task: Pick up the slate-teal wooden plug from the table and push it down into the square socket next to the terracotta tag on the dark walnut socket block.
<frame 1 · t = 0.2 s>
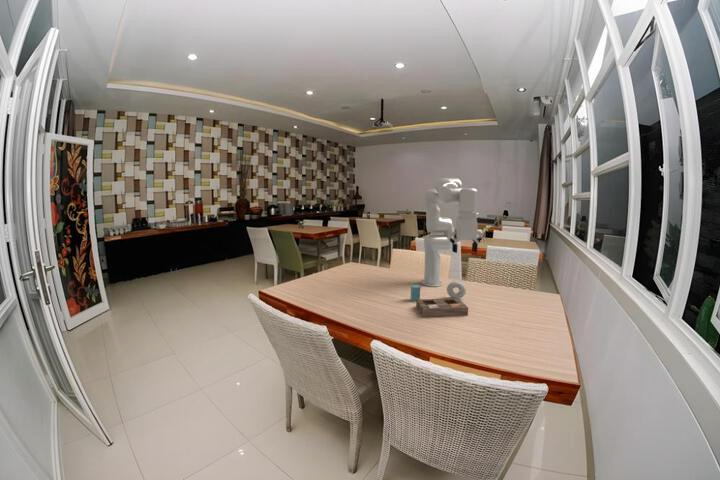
hand: (464, 251, 134), 31 cm above the table, tool pointing down, fingers open, 9 cm apart
plug: (415, 300, 156), on the table
donut: (455, 299, 158), on the table
socket block: (441, 310, 142), on the table
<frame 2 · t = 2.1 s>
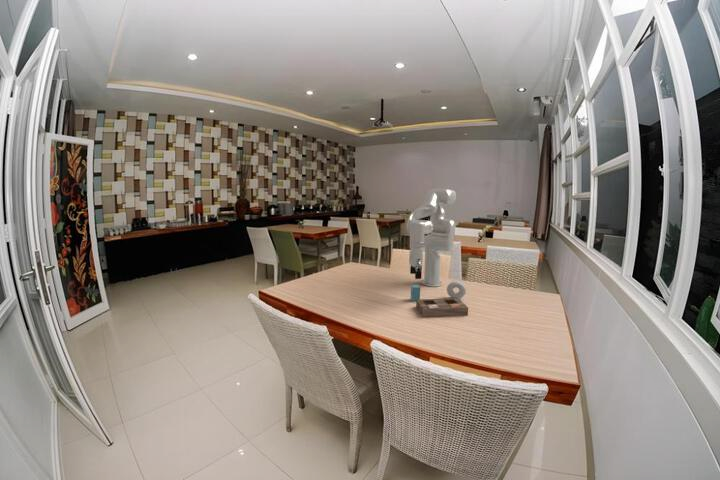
hand: (415, 276, 153), 14 cm above the table, tool pointing down, fingers open, 9 cm apart
nothing on the table moved.
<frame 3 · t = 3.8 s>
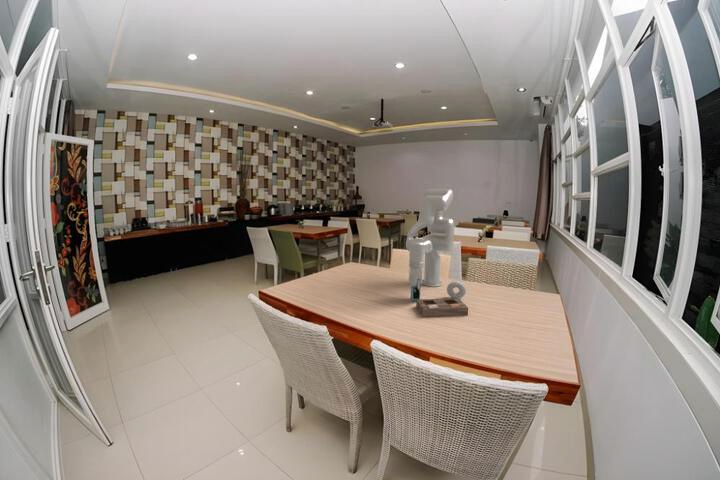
hand: (415, 296, 156), 2 cm above the table, tool pointing down, fingers closed on plug, 4 cm apart
plug: (415, 300, 156), on the table, touching gripper
everything else where it was.
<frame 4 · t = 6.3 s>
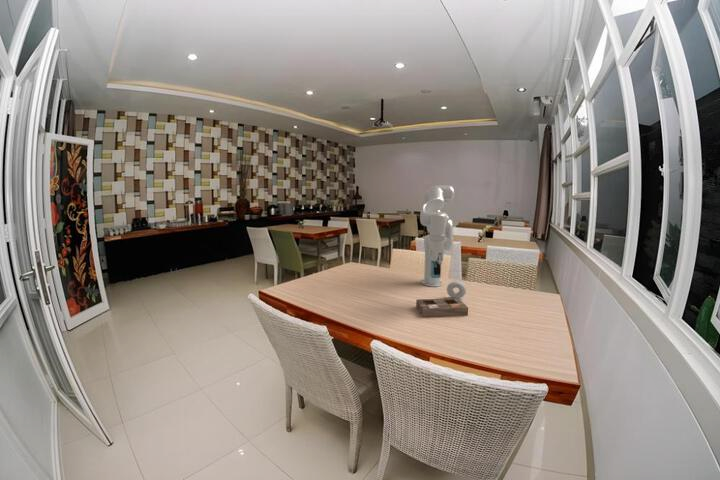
hand: (435, 272, 146), 18 cm above the table, tool pointing down, fingers closed on plug, 4 cm apart
plug: (435, 276, 147), point 16 cm above the table, touching gripper
everything else where it was.
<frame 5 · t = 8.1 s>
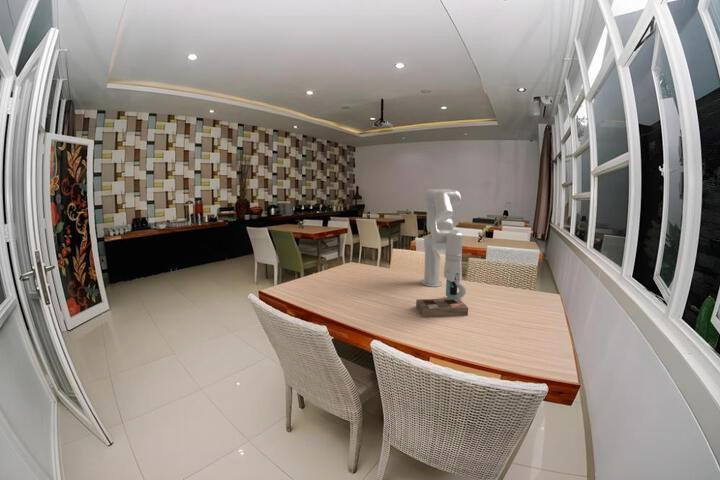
hand: (451, 292, 143), 9 cm above the table, tool pointing down, fingers closed on plug, 4 cm apart
plug: (451, 296, 143), point 7 cm above the table, touching gripper
everything else where it was.
when the fingers open (5 cm above the table, at t = 9.2 s): plug drops 3 cm, resting in socket block.
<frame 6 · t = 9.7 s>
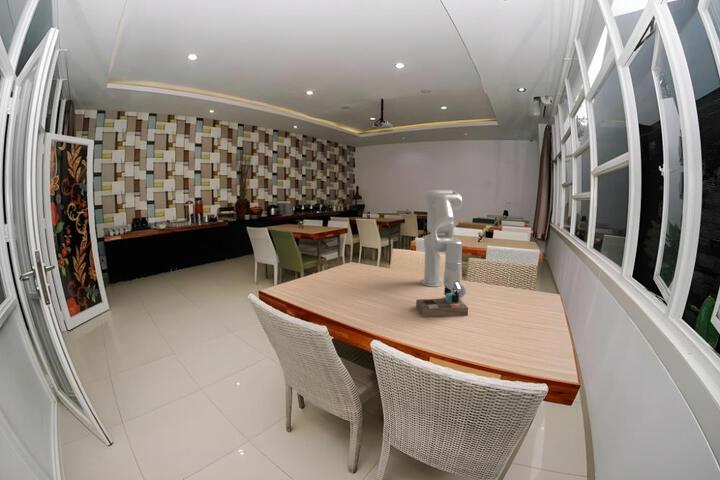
hand: (451, 298, 143), 6 cm above the table, tool pointing down, fingers open, 9 cm apart
plug: (450, 309, 144), resting in socket block
everything else where it was.
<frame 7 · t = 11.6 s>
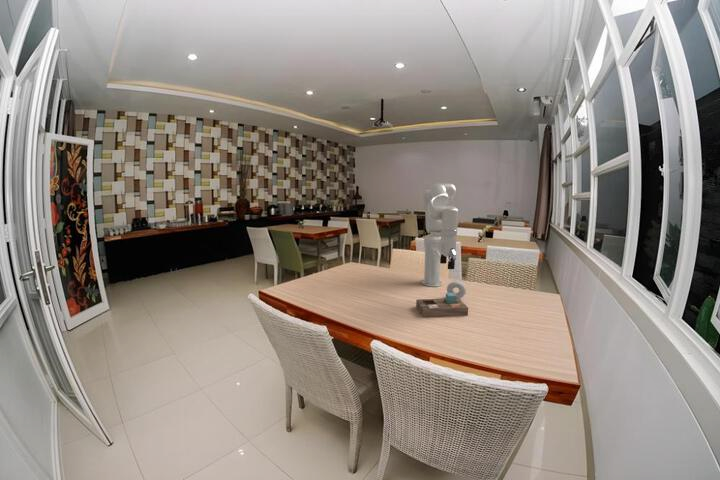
hand: (446, 266, 144), 22 cm above the table, tool pointing down, fingers open, 9 cm apart
nothing on the table moved.
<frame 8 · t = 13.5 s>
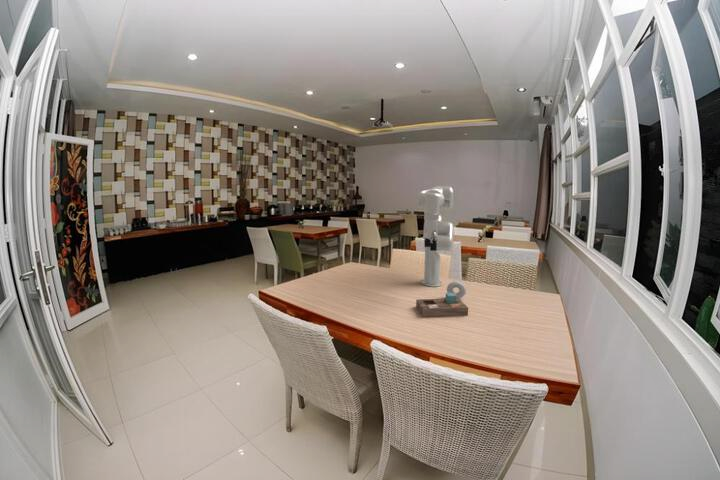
hand: (430, 248, 154), 28 cm above the table, tool pointing down, fingers open, 9 cm apart
nothing on the table moved.
at the end: plug 0.1 cm from the target spot on the socket block, point 0.0 cm above the socket block's base; plug tilted 0°; the gripper is holding nothing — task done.
